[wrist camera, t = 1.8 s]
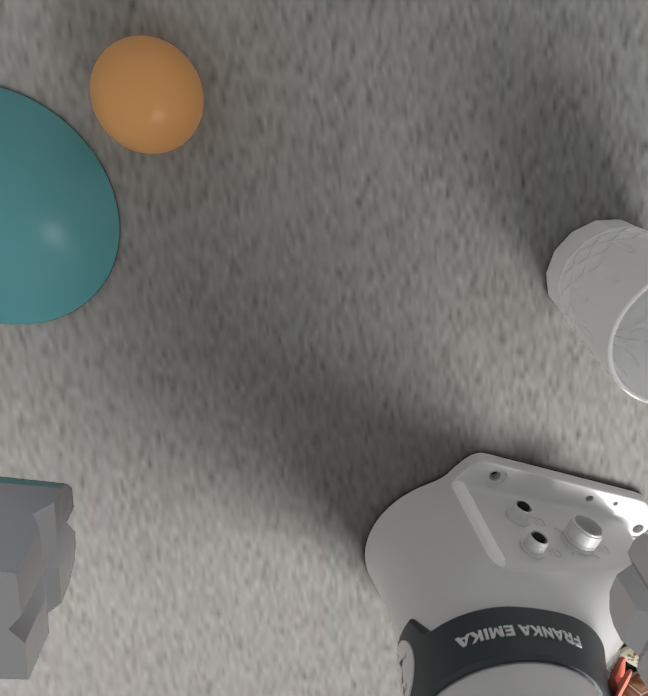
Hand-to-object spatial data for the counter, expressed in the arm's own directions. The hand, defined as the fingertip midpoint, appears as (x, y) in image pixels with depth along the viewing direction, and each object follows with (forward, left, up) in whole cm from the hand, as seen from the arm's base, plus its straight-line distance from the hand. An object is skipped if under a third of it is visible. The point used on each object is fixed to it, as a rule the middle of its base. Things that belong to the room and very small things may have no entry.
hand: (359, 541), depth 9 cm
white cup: (-19, +4, -30) cm, 36 cm away
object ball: (+9, -3, -27) cm, 28 cm away
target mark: (+18, +5, -30) cm, 35 cm away
